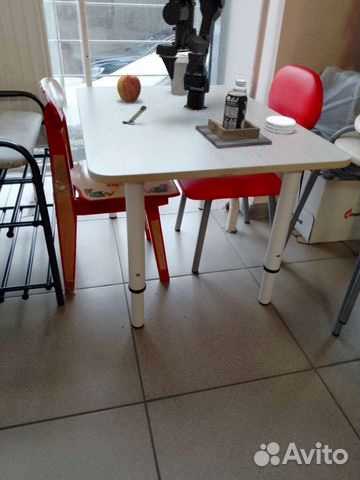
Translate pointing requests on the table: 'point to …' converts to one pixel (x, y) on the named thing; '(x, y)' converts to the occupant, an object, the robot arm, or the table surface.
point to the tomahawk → (135, 116)
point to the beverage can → (235, 110)
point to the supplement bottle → (240, 85)
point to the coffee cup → (179, 75)
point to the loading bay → (233, 135)
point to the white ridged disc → (280, 124)
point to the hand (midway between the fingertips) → (181, 78)
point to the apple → (129, 88)
